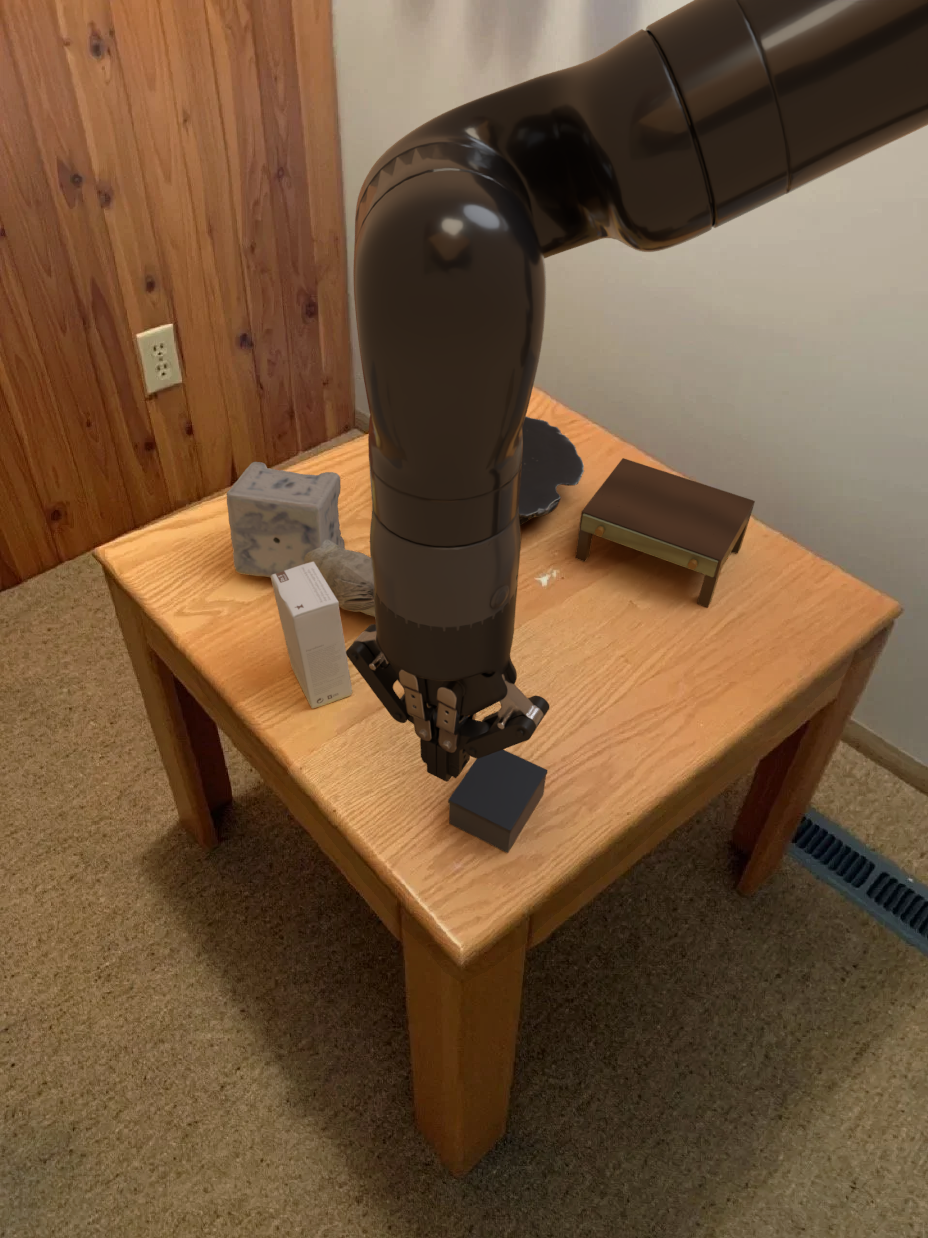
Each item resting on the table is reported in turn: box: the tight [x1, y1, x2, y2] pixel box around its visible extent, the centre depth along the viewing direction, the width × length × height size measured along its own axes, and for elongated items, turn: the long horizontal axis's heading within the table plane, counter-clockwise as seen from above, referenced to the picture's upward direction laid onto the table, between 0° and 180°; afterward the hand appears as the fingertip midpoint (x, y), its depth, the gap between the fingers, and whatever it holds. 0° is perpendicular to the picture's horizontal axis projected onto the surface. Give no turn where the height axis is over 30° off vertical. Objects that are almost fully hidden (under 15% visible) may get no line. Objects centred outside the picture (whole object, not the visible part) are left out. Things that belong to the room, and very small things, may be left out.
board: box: [519, 415, 585, 526], centre depth 104 cm, size 22×22×5 cm
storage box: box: [447, 749, 549, 854], centre depth 74 cm, size 7×6×4 cm
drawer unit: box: [574, 457, 756, 608], centre depth 96 cm, size 12×15×6 cm
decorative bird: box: [304, 539, 375, 618], centre depth 89 cm, size 5×16×8 cm, turn 50°
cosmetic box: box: [270, 562, 353, 709], centre depth 81 cm, size 6×4×12 cm
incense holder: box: [226, 461, 346, 578], centre depth 93 cm, size 10×8×10 cm
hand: (444, 767), depth 59 cm, fingers closed
